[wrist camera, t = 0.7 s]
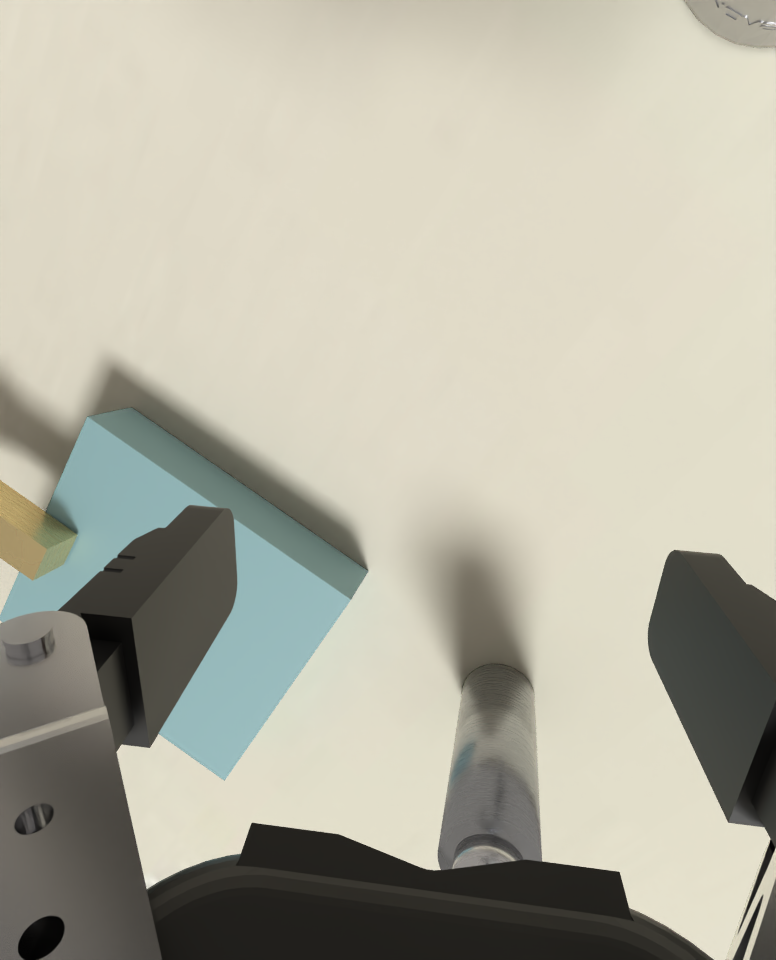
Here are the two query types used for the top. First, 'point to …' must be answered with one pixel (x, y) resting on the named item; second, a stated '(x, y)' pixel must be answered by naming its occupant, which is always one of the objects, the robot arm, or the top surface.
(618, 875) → the robot arm
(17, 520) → the block hammer
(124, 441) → the dock
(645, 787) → the top surface
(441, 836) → the metal capped cylinder
